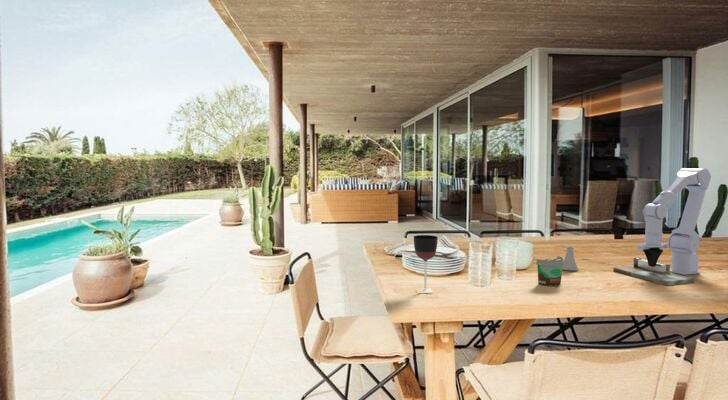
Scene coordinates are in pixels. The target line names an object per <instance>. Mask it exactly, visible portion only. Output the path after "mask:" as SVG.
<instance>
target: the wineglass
mask: <svg viewBox="0 0 728 400" xmlns="http://www.w3.org/2000/svg"><path fill="white" fill-rule="evenodd" d="M438 238H439V237H438V236H437V235H430V234H420V235H417V234H416V235H414V236H413V246H414V252H415V255H416V256H417V257H418V258H419V259H421V260H422V261H423V262H424V265H423V267H424V271H423V272H424V274H423V275H424V278H423V279H424V282H423V285H424V287H423V288H424V289H421V290H420V291H423V292H432V291H433V290H434V289H433V290H431V289H432V288H428V289H426V288H427V263H428V262H427V261H429V260H431V259H433V258H434V257H435V256H436V253H437V248H438V240H439V239H438Z"/></svg>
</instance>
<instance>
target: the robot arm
mask: <svg viewBox="0 0 728 400" xmlns="http://www.w3.org/2000/svg"><path fill="white" fill-rule="evenodd" d="M711 178H712V175H711V173H710V171H709V169H708V168H705V167H703V168H696V167H695V168H690V167H689V168H687V167H683V168H680V169H679V170H678V172H677V173H676V179H675V180H674V181H673V183H671V185H670V186H669V188H668V189H667V190H663V191H661V192H660V193H659V195H657V196H656V198H655V199H654V200H653V201H652V202H651V203H647V204H645V206H644V208H643V209H642V215H643V216H644V221H645V230H644V231H645V233H644V243H639V244H637V245H636V246H637V247H636V250H639V251H643V253H644V256H645V257H646V260H647V261H648V265H649V266H651V267H655V266H656V263H657V262H659V261H658V260H659V258H660V256H661V255H662V254H663V252H664V250H663V249H670V251H671V264H670V273H673V274H677V275H681V276H685V275H695V274H701V272H700V271H699V256H698V254H697V253H696V252H697V250H698V249H699V247H700V238H701V236H700V235H699V234H698V233H697V232H696V230H695V229H696V226H697V222H698V219H699V215H700V212H701V209H702V205H703V202H704V199H705V195H706V192H707V190H708V188H709V185H710V182H711ZM683 189H687V190H688V195H687V200H686V202H685V205H684V208H683V209H684V210H683V213H682V215H681V216H682V217H681V219H680V222H679V223H680V224H679V226H678V227H677V228H674V229H673V230H672V231H671V234H670V235H669V236H668V238H667V242H662V239H663V222H664V219H665V218H666V217H667V215H668V211H669V208H670V207H671V206H672V204H674V202H675V201H677V200H676V196H677V195H678V194H679V193H680V192H682V191H683Z"/></svg>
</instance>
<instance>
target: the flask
mask: <svg viewBox="0 0 728 400" xmlns="http://www.w3.org/2000/svg"><path fill="white" fill-rule="evenodd" d="M565 249H566V253H565V256H564V258H563V260H564V263H565V265H563V268H562V271H569V272H570V271H571V272H572V271H573V272H574V271H579V267H578V265H577V262H576V259H575V255H574V249H575V247H574V246H569V245H567V246H565Z"/></svg>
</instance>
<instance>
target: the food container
mask: <svg viewBox="0 0 728 400" xmlns="http://www.w3.org/2000/svg"><path fill="white" fill-rule="evenodd" d="M535 264H536V265H537V281H538V282H537V283H538V285H539V286H544V287H559V286H561V282H562V275H563V269H562V268H563V265H565V263H564V257H562V256H559V255H557V257H556V258H547V259H539V258H537V260H536V261H535Z"/></svg>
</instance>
